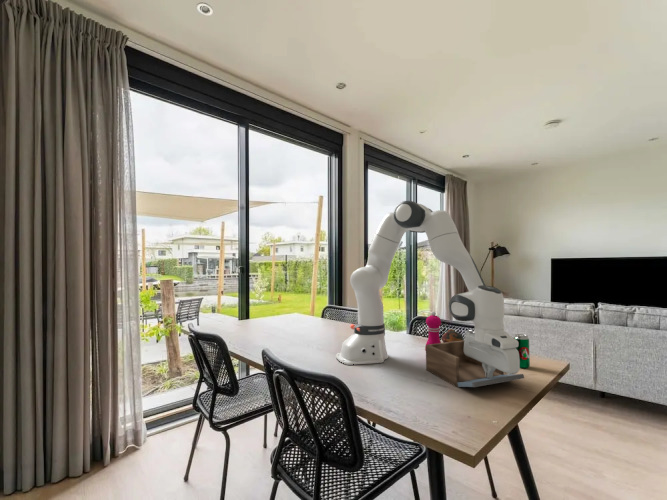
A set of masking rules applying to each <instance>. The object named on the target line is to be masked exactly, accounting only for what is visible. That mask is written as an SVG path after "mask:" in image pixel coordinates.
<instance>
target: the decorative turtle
mask: <svg viewBox="0 0 667 500" xmlns="http://www.w3.org/2000/svg"><path fill="white" fill-rule="evenodd" d="M462 340H465V338H464V337H463V335H462V334H461V333H460V332H458V331H455V330H454V329H452V328H450V329H448V330H447V331H446V332H445V333H444V334H442V337H441V342H442V343H445V342H454V341H462Z"/></svg>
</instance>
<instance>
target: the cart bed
mask: <svg viewBox="0 0 667 500" xmlns="http://www.w3.org/2000/svg"><path fill="white" fill-rule="evenodd" d="M464 341H465V339H464V340H462V341H454V342H445V343H443V342H441V343H437V344H429V345H426V344H425V346H426V351H425V368H426V369H425V371H427V372H429V373H431V374H432V375H434V376H436V377H438V378H440V379H442V380H443V381H445V382H447V383H449V384H450V385H452V386H454V387H456V388H457V387H458V384H457V383H458V382H464V381H470V380H475V379H481V378H487V377H485V371H484V369H483V366H482V362H480V361H477V360H475V359H473V358H471V357H468V356H466V355H465V354H464ZM499 375H505V372H502V371H500V370H498V369H495V371H494V372H493V376H499Z"/></svg>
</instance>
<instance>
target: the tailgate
mask: <svg viewBox="0 0 667 500" xmlns="http://www.w3.org/2000/svg"><path fill="white" fill-rule="evenodd" d="M522 379H525V375H524V373H516V374H507V373H505V374H504V375H499V376H493V378H490V379H489V378H481V379H475V380H470V381H464V382H458V383H457V384H458V387H459V388H460V387H462V388H466V387H467V388H478V387H484V386H487V385H488V386H489V385H494V384H500V383H506V382H512V381H517V380H522Z"/></svg>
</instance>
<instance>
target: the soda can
mask: <svg viewBox="0 0 667 500" xmlns="http://www.w3.org/2000/svg"><path fill="white" fill-rule="evenodd" d="M513 338H514V339H516V340H517V341H518V343H519V345H518V347H516V349H517V350H518V352H519V359H520V369H523V370H524V369H529V368H530V367H531V359H530V353H531V351H530V338H529V336H528V335H527V334H522V333H517V334H514V336H513Z"/></svg>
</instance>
